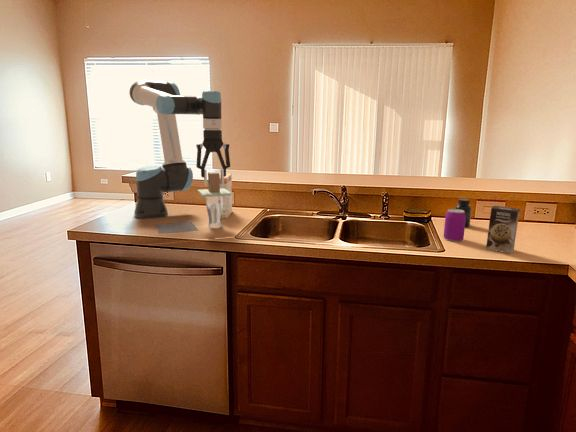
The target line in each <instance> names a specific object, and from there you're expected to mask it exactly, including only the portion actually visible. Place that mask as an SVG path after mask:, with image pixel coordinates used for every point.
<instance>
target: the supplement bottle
mask: <svg viewBox="0 0 576 432" xmlns="http://www.w3.org/2000/svg"><path fill="white" fill-rule="evenodd" d="M470 201H471V200H470V199H468V198H458V201H457V204H456V206H455V208H454V209H460V210H464V212H465V216H466V221H465V228H467V227H468V228H469V227H471V226H470V225H471V218H472V206H471V205H470V204H471V202H470Z"/></svg>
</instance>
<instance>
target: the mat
mask: <svg viewBox="0 0 576 432" xmlns="http://www.w3.org/2000/svg"><path fill="white" fill-rule="evenodd" d="M155 228H156V230H157V233H158V234H160V235H161V234H174V233H182V232H183V233H185V232H186V233H187V232H194V231H199V229H198V228H197V226H196V225H195V223H194V222H193V221H181V222H171V223H170V222H169V223H156V224H155Z"/></svg>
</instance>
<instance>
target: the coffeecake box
mask: <svg viewBox="0 0 576 432" xmlns="http://www.w3.org/2000/svg"><path fill="white" fill-rule="evenodd" d="M218 173H219V177H220V189H222V188H225V189H226V190H228V191H229V192H230V193H231V196H222V200H223V207H222V215H221V219H228V218H229V217H230V215H231V214H232V212H233V192H232V190H233V189H232V188H233V186H232V185H233V181H232V179H233V178H232V173H229V172H228V173H227V172H226V176H224V185H222V184H221V172H218Z"/></svg>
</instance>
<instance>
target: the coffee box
mask: <svg viewBox="0 0 576 432" xmlns="http://www.w3.org/2000/svg"><path fill="white" fill-rule="evenodd" d="M520 211H521V209H520V208H517V207H509V206H500V205H493V206H492V207H491V210H490V218H489V223H488V224H489V225H488V231H487V238H486V246H485V250H487V249H490V250H489V251H493V250H497V251H496V252H498V251H503V252H502V253H504V252H509V253H508V254H510V253H512V254H513V253H514V251H513V250H515V245H516V244H515V243H516V238H517V237H516V236H517V229H518V223H519V218H520Z"/></svg>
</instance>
